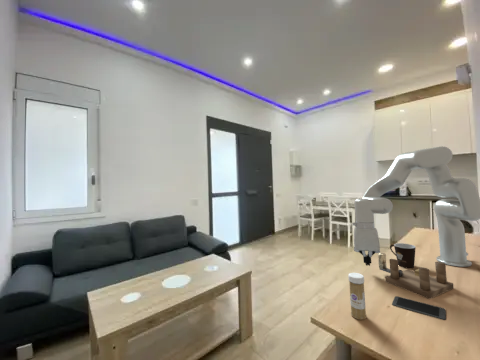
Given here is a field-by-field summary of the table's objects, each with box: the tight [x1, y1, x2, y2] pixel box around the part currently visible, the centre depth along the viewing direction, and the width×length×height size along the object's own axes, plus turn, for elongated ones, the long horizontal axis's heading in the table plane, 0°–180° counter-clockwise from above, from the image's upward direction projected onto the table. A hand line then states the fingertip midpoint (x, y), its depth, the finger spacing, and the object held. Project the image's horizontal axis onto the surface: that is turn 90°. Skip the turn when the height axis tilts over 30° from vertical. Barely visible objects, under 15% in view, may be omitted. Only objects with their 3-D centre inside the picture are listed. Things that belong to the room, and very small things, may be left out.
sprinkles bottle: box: [347, 272, 367, 320], centre depth 72 cm, size 5×5×13 cm
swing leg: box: [377, 252, 404, 277], centre depth 97 cm, size 10×3×7 cm, turn 23°
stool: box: [384, 258, 454, 300], centre depth 89 cm, size 16×16×10 cm
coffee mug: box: [389, 242, 417, 269], centre depth 110 cm, size 12×9×10 cm
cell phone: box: [391, 296, 447, 321], centre depth 74 cm, size 7×14×1 cm, turn 46°
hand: (367, 264), depth 101 cm, fingers closed
